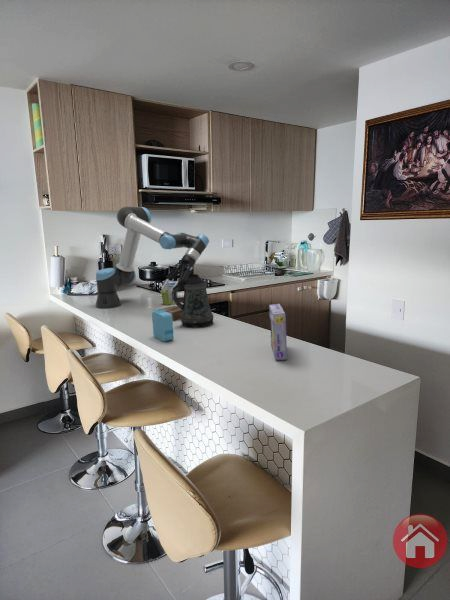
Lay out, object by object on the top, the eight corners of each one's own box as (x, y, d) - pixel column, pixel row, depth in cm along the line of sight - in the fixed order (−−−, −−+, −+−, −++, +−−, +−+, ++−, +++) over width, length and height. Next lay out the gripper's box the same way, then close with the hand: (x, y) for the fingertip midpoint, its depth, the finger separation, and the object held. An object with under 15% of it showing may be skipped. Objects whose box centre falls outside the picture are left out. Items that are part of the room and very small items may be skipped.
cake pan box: (269, 344, 161) (269, 302, 157) (281, 344, 161) (281, 302, 157) (273, 361, 142) (273, 313, 138) (287, 361, 142) (287, 313, 138)
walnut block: (158, 318, 213) (158, 309, 212) (175, 314, 222) (174, 305, 221) (173, 321, 205) (172, 312, 204) (189, 317, 214) (189, 308, 213)
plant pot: (177, 302, 253) (176, 289, 251) (173, 305, 243) (173, 292, 242) (163, 302, 253) (162, 289, 252) (159, 305, 244) (158, 292, 243)
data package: (174, 340, 171) (172, 313, 169) (164, 342, 168) (162, 315, 166) (162, 334, 181) (160, 309, 178) (153, 336, 178) (151, 310, 176)
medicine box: (169, 296, 215) (168, 281, 213) (178, 296, 215) (177, 280, 213) (168, 299, 207) (167, 283, 206) (177, 299, 207) (176, 282, 206)
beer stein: (220, 323, 198) (218, 274, 193) (192, 331, 184) (189, 278, 179) (198, 318, 209) (195, 271, 204) (169, 326, 195) (166, 276, 190)
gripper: (206, 263, 210) (184, 297, 203) (182, 261, 226) (161, 292, 218) (198, 254, 205) (175, 288, 198) (174, 253, 221) (152, 284, 214)
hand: (167, 290), depth 208 cm, fingers closed on medicine box, 9 cm apart
